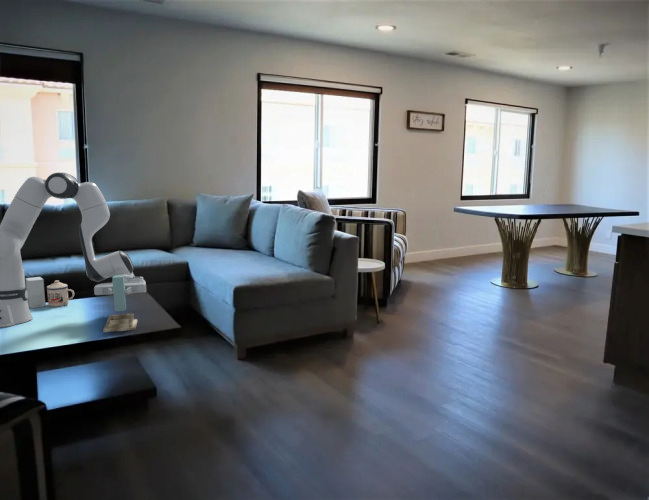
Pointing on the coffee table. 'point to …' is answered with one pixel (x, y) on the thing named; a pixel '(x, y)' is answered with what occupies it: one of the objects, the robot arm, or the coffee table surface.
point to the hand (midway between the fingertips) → (119, 292)
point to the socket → (120, 323)
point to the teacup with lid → (58, 294)
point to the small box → (35, 292)
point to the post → (119, 293)
